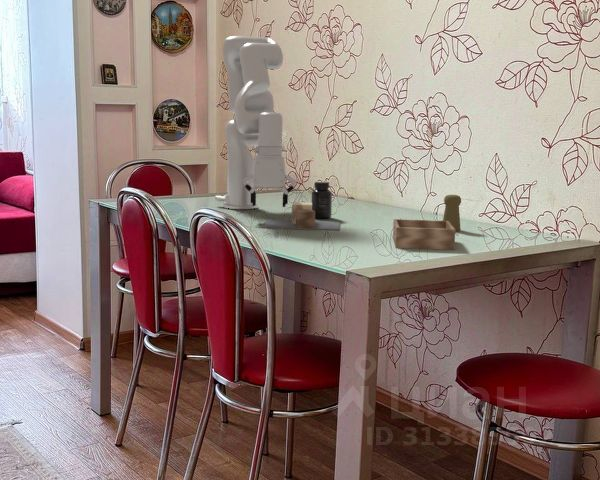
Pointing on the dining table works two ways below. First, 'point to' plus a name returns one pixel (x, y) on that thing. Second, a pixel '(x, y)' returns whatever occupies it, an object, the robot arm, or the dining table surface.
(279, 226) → the mat
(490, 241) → the dining table surface
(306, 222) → the walnut block
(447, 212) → the cork
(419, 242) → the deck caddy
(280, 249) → the dining table surface
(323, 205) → the supplement bottle
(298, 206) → the maple block
